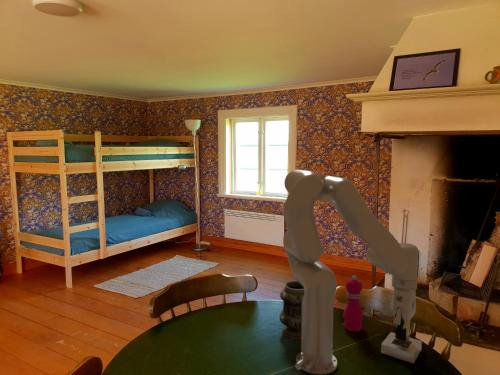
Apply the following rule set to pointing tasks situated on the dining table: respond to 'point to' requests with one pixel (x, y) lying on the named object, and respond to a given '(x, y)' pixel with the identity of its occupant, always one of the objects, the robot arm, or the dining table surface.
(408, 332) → the cylinder
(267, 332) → the dining table surface
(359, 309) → the pepper mill
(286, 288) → the apothecary jar
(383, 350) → the jig
